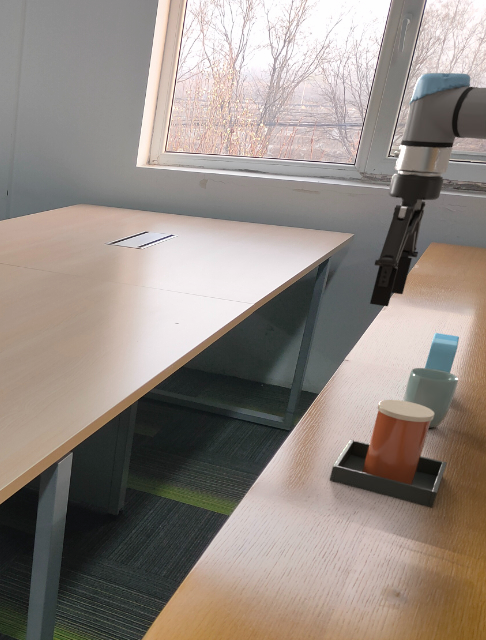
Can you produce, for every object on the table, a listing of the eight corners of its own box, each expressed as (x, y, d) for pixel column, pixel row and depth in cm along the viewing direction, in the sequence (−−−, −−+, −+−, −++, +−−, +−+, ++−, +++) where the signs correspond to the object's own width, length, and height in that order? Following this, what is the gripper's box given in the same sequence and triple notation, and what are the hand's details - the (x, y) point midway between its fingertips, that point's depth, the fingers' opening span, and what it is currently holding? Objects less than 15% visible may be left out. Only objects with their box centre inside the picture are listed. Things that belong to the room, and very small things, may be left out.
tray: (441, 479, 130) (446, 462, 129) (431, 511, 119) (436, 492, 118) (346, 455, 138) (350, 439, 136) (328, 483, 127) (333, 465, 126)
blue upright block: (441, 403, 165) (457, 347, 161) (416, 398, 168) (431, 343, 163) (443, 388, 175) (459, 335, 170) (420, 383, 177) (435, 331, 172)
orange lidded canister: (416, 477, 129) (437, 407, 125) (410, 493, 123) (431, 421, 119) (364, 464, 133) (382, 396, 129) (356, 479, 127) (374, 408, 123)
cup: (447, 434, 149) (463, 383, 145) (400, 427, 151) (415, 377, 148) (438, 420, 156) (453, 371, 152) (394, 413, 158) (407, 365, 154)
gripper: (406, 169, 145) (377, 285, 153) (379, 175, 127) (347, 306, 135) (454, 172, 141) (422, 291, 149) (433, 179, 123) (397, 314, 131)
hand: (386, 298), depth 142 cm, fingers open, 13 cm apart
